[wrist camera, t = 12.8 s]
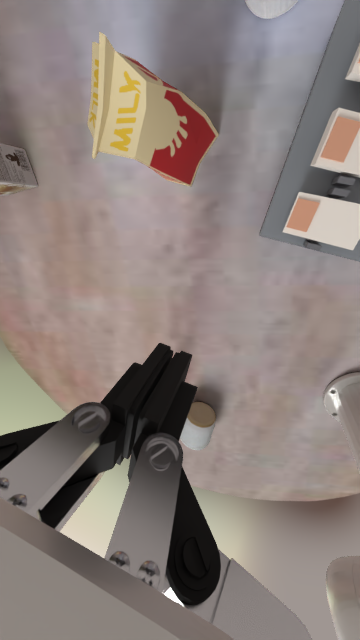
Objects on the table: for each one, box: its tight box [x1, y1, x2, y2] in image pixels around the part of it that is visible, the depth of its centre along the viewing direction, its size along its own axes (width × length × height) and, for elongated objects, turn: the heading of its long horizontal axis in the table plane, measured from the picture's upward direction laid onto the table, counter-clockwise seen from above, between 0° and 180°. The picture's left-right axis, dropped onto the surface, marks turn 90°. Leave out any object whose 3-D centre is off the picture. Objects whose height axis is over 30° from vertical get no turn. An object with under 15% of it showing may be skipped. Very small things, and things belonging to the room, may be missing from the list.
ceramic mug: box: [180, 402, 216, 450], centre depth 53 cm, size 11×8×8 cm
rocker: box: [283, 192, 360, 250], centre depth 26 cm, size 8×4×1 cm, turn 79°
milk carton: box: [88, 32, 219, 187], centre depth 25 cm, size 9×9×20 cm
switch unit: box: [260, 0, 360, 262], centre depth 25 cm, size 13×21×7 cm, turn 168°
